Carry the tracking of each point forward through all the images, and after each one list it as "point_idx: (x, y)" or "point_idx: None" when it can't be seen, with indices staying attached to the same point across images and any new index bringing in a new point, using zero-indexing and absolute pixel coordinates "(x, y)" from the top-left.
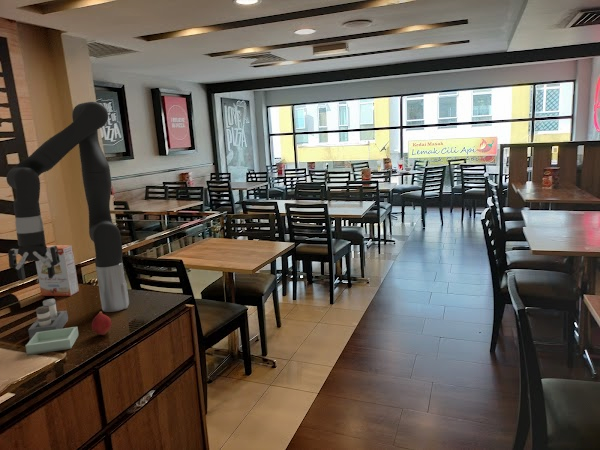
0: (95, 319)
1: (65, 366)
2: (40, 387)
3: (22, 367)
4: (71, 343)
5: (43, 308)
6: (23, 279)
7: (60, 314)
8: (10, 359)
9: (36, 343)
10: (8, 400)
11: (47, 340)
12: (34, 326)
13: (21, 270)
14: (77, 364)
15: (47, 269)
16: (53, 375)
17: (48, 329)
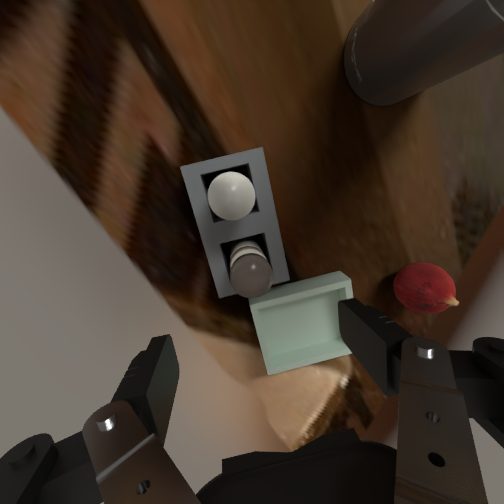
0: (428, 310)
1: (367, 400)
2: None
3: (285, 401)
4: None
5: (259, 283)
6: (176, 362)
7: (258, 186)
8: (237, 373)
9: (288, 366)
10: None
11: (278, 305)
12: (225, 277)
13: (162, 432)
14: None
15: (377, 384)
16: (358, 425)
17: None
